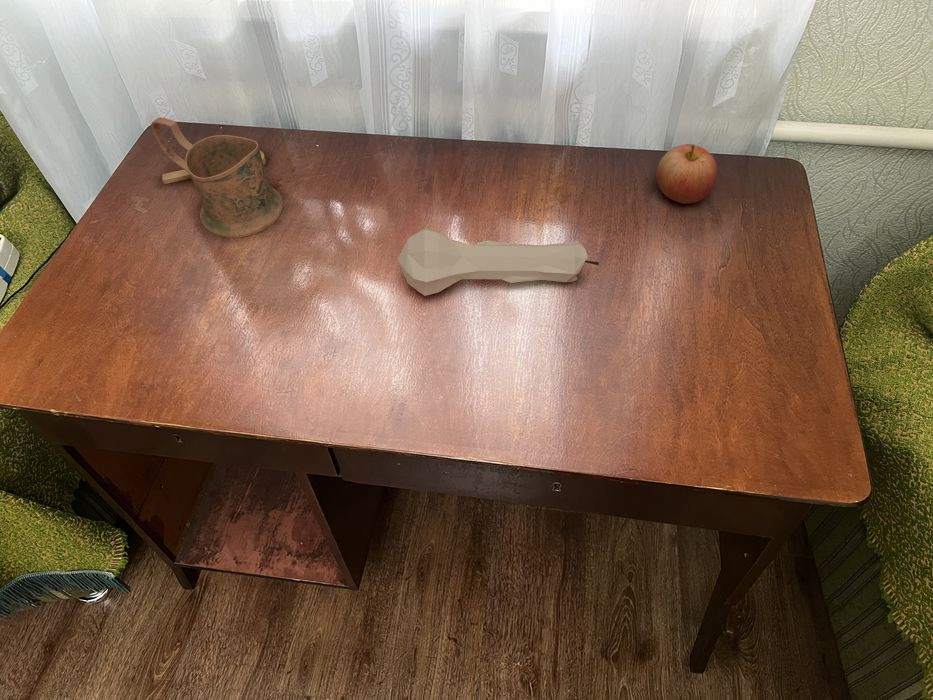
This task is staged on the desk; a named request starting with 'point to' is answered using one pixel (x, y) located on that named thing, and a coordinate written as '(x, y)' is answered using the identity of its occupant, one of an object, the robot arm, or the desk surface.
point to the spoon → (187, 174)
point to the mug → (226, 181)
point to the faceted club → (485, 261)
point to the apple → (687, 173)
